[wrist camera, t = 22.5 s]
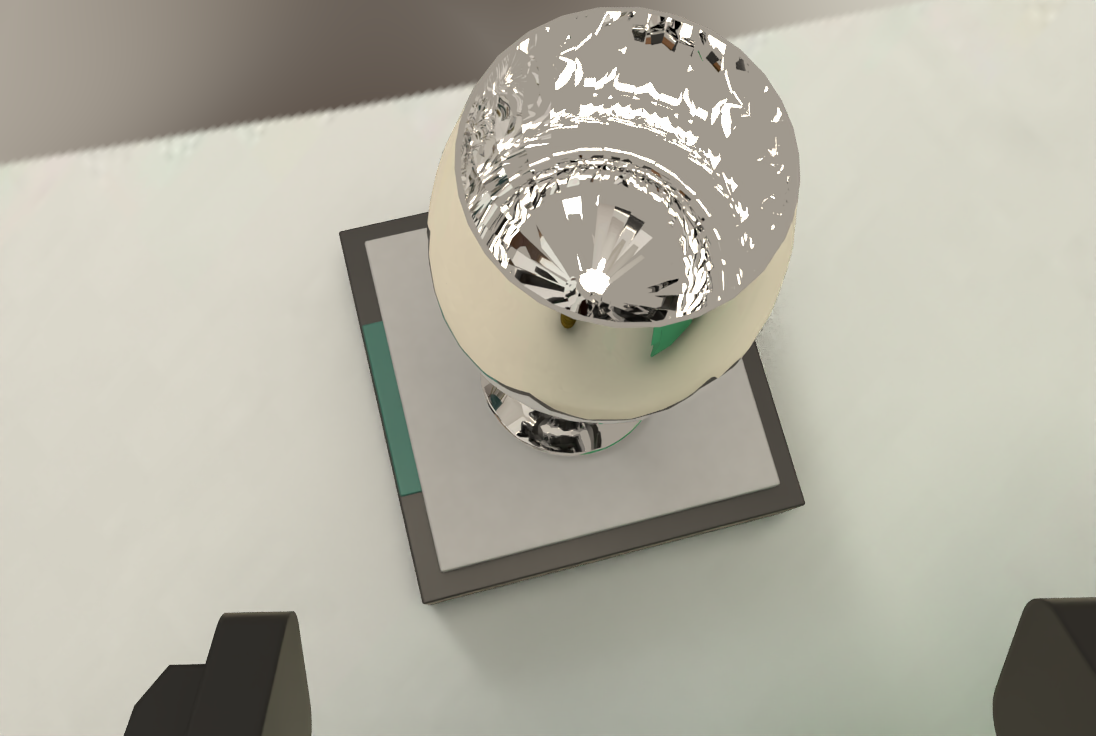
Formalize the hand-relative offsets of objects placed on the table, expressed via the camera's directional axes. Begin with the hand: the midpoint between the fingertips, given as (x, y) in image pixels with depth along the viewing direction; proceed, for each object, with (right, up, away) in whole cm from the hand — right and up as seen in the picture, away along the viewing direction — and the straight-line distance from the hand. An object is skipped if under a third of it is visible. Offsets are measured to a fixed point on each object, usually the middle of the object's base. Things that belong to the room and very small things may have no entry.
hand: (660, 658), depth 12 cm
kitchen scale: (-1, +3, +17) cm, 17 cm away
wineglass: (-1, +3, +14) cm, 15 cm away
